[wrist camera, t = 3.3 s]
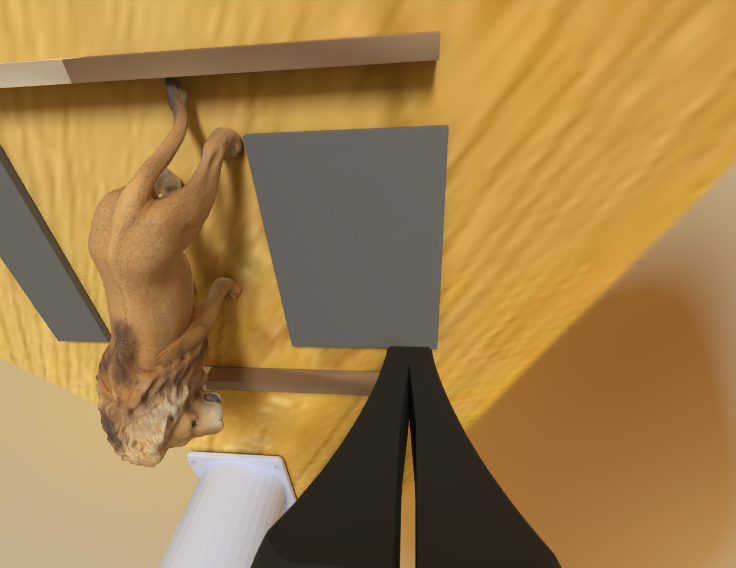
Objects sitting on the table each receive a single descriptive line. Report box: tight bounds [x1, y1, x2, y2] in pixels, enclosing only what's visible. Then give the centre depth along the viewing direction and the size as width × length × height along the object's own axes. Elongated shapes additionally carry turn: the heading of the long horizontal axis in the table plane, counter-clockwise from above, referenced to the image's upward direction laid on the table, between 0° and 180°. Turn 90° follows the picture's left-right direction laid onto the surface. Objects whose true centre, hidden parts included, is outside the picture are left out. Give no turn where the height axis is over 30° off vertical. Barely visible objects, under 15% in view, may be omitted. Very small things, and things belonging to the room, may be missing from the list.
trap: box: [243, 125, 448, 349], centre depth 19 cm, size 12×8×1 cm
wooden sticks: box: [0, 31, 440, 395], centre depth 20 cm, size 18×22×1 cm
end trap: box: [0, 146, 111, 342], centre depth 21 cm, size 12×4×1 cm, turn 3°
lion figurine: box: [88, 77, 243, 467], centre depth 16 cm, size 15×5×9 cm, turn 176°
